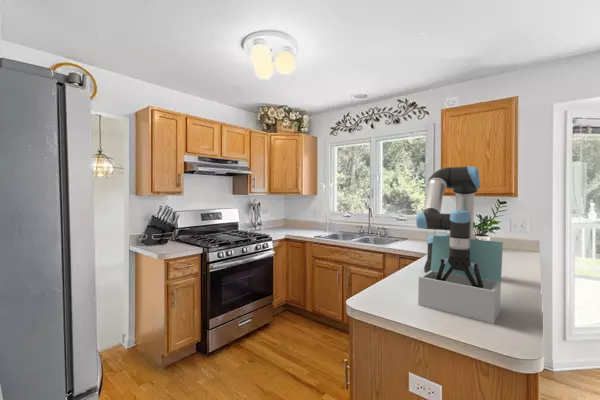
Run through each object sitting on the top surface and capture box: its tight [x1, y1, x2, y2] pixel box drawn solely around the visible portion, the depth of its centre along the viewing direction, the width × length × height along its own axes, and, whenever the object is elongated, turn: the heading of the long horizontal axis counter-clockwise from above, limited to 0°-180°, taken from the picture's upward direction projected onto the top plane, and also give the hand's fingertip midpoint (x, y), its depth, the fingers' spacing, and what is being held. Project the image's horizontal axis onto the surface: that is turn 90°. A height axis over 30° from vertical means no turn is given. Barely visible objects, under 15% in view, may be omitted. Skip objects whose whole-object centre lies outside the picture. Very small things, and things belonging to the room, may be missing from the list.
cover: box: [431, 236, 504, 283], centre depth 128 cm, size 16×27×2 cm
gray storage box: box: [417, 270, 502, 325], centre depth 121 cm, size 16×27×12 cm, turn 49°
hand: (458, 301), depth 121 cm, fingers open, 10 cm apart
